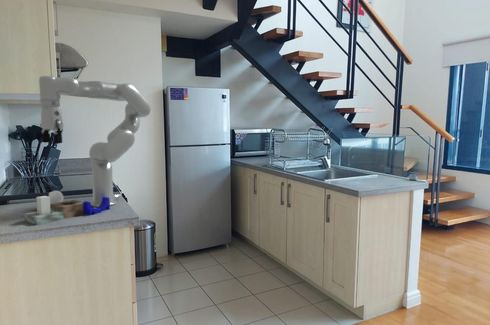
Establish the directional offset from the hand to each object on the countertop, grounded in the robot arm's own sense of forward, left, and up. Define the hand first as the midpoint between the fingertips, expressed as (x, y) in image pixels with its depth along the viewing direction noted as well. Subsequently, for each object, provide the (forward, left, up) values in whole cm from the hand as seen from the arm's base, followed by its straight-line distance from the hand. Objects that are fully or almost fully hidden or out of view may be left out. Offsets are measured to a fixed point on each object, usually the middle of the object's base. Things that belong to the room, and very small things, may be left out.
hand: (52, 142), depth 156 cm
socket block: (+4, +8, -32) cm, 34 cm away
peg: (+10, +8, -32) cm, 35 cm away
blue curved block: (-11, +15, -33) cm, 38 cm away
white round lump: (-6, -12, -32) cm, 35 cm away
